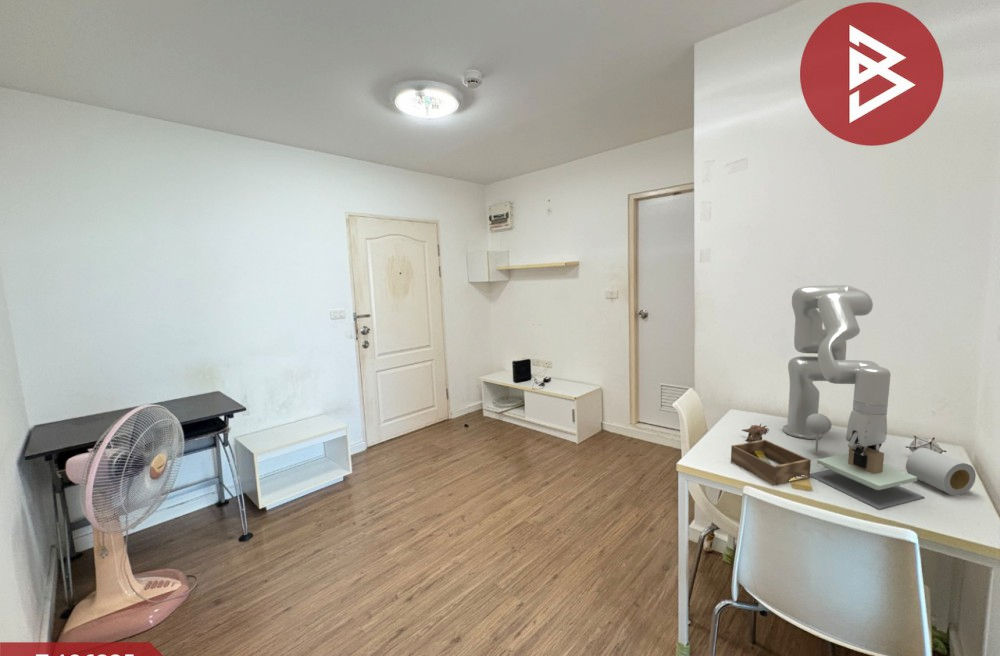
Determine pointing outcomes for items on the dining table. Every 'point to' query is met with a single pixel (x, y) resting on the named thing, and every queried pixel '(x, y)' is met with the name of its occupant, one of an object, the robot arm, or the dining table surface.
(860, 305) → the robot arm
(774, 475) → the crate
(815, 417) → the lollipop
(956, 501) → the dining table surface
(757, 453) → the medication box
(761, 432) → the dinosaur figurine
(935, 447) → the grey rod frame
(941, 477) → the toilet paper
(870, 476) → the lid
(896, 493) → the mat
